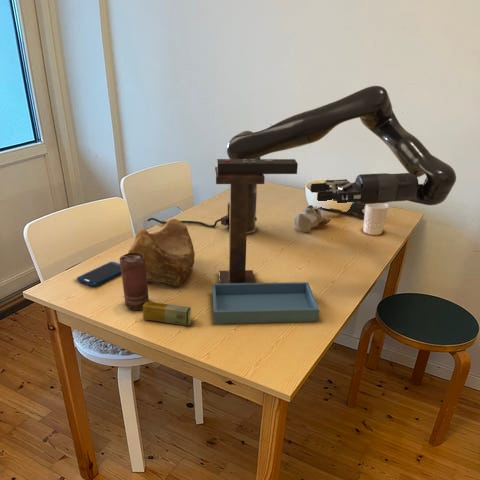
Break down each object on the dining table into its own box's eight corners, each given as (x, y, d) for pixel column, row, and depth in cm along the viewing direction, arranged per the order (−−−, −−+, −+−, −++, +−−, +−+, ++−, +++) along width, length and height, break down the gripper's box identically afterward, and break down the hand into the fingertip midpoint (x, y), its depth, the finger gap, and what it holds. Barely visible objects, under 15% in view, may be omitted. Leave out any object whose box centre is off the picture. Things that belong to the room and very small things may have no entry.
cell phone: (76, 280, 138) (75, 277, 137) (112, 263, 148) (112, 260, 147) (93, 287, 134) (93, 285, 134) (129, 269, 144) (129, 267, 144)
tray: (214, 323, 121) (213, 312, 119) (212, 294, 133) (212, 283, 131) (318, 321, 123) (319, 309, 121) (306, 292, 135) (308, 281, 133)
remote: (217, 174, 119) (217, 162, 118) (217, 169, 123) (217, 158, 121) (296, 174, 121) (297, 162, 119) (294, 169, 124) (295, 158, 123)
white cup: (384, 229, 176) (389, 202, 170) (382, 237, 170) (387, 210, 164) (362, 226, 178) (367, 199, 172) (360, 233, 172) (364, 206, 166)
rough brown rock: (165, 304, 129) (167, 254, 121) (119, 283, 136) (117, 234, 127) (213, 273, 147) (217, 228, 139) (169, 256, 153) (171, 211, 145)
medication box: (191, 321, 121) (191, 307, 120) (188, 326, 119) (188, 311, 117) (146, 314, 123) (145, 300, 121) (142, 319, 121) (141, 305, 119)
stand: (216, 291, 134) (216, 177, 117) (215, 275, 143) (214, 166, 125) (259, 290, 135) (264, 177, 118) (255, 274, 144) (260, 166, 126)
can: (126, 299, 130) (120, 252, 122) (149, 298, 130) (145, 251, 123) (123, 311, 125) (117, 262, 117) (148, 310, 125) (143, 262, 117)
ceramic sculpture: (288, 205, 169) (309, 197, 179) (285, 229, 173) (306, 220, 184) (314, 213, 163) (335, 204, 174) (311, 237, 168) (331, 227, 178)
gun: (363, 219, 182) (359, 193, 179) (318, 224, 195) (313, 200, 191) (368, 216, 185) (364, 190, 182) (323, 221, 198) (318, 197, 194)
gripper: (368, 168, 129) (308, 171, 128) (386, 180, 116) (320, 183, 115) (366, 196, 132) (307, 199, 131) (383, 210, 120) (319, 214, 119)
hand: (313, 192), depth 123 cm, fingers open, 8 cm apart
